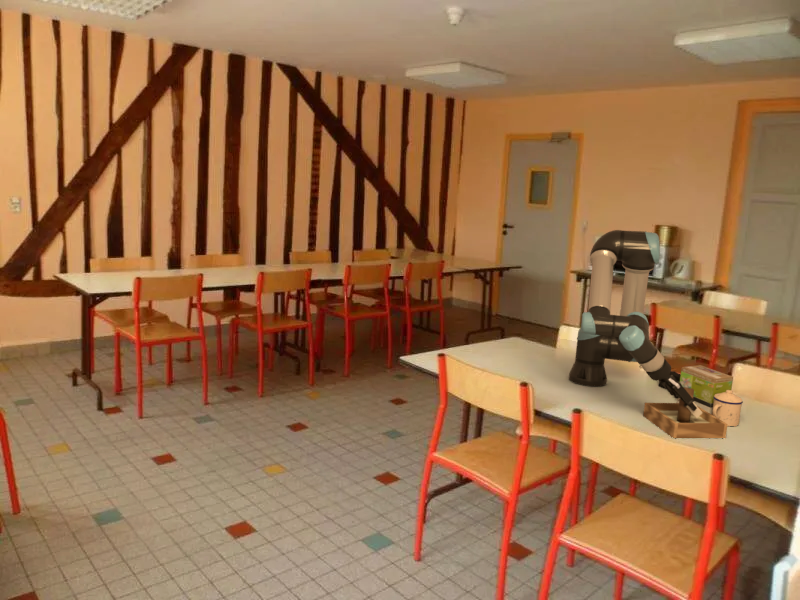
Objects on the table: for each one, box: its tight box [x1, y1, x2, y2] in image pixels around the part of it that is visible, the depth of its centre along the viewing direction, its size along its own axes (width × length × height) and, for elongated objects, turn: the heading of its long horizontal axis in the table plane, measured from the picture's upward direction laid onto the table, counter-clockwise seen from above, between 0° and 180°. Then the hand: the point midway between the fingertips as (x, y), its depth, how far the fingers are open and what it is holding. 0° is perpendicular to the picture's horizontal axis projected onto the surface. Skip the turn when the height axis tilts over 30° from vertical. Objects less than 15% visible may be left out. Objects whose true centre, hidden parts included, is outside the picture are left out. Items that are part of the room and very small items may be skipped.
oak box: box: [642, 402, 728, 439], centre depth 211 cm, size 20×18×5 cm
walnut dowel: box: [677, 387, 694, 423], centre depth 211 cm, size 4×4×12 cm
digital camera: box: [657, 370, 681, 391], centre depth 253 cm, size 10×5×7 cm, turn 23°
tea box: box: [676, 364, 734, 415], centre depth 230 cm, size 15×10×15 cm
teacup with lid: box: [712, 389, 744, 427], centre depth 217 cm, size 12×9×12 cm
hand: (695, 412), depth 211 cm, fingers closed on walnut dowel, 4 cm apart
